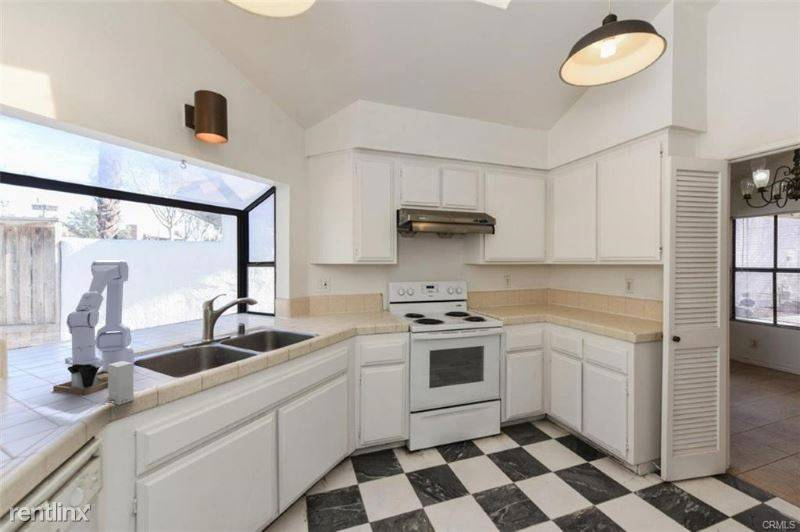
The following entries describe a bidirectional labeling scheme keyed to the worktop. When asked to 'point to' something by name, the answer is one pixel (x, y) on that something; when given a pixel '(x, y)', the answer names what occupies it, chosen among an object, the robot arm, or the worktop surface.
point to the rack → (67, 389)
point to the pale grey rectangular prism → (80, 380)
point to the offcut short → (102, 378)
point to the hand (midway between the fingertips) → (84, 386)
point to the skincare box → (120, 382)
